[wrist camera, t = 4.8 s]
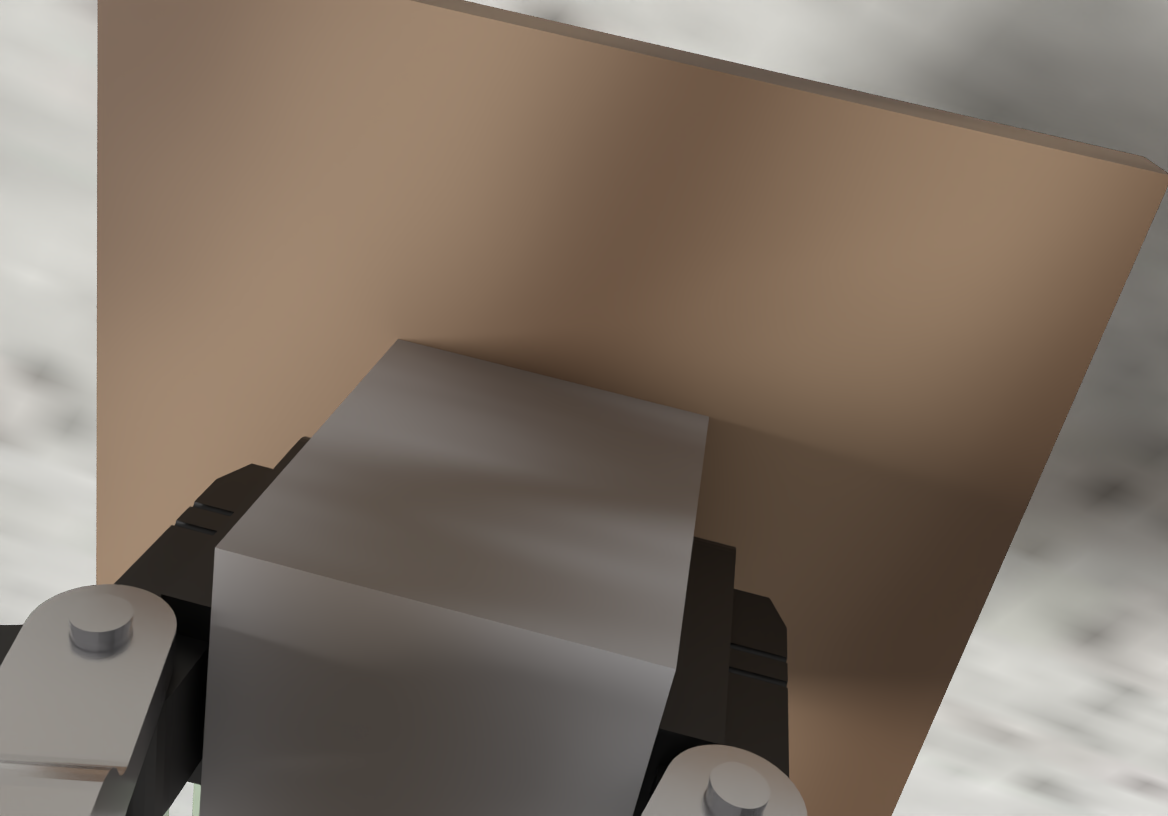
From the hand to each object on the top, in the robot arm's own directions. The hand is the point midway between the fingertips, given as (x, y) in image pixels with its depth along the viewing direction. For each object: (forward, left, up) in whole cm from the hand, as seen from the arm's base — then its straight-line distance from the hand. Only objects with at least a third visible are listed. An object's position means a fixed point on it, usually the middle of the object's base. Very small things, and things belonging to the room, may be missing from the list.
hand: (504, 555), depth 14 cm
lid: (0, 0, -2) cm, 2 cm away
